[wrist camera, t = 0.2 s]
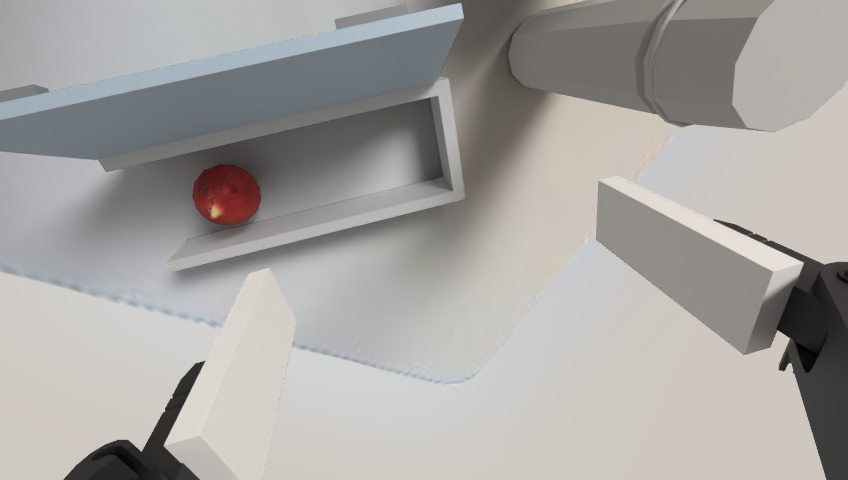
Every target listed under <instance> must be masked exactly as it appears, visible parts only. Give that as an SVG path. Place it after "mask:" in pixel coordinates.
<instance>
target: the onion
mask: <svg viewBox="0 0 848 480" xmlns="http://www.w3.org/2000/svg"><path fill="white" fill-rule="evenodd" d="M193 200H194V203H195V206H196V208H197V210H198V211H199V212H200V213H201V214H202V216H203V217H205V218H206V219H208V220H209V221H211V222H213V223H217V224H221V225H235V224H239V223H241V222H244V221H246V220H248V219H249V218H250V217H251V216H252V215H253V214H254V213H255V212H256V211H257V210H258V207H259V204H260V202H261V194H260V187H259V185H258V184H257V182H256V180H255V179H254V178H253V177H252V176H251V175H250V174H249V173H248V172H247V171H245V170H243V169H241V168H239V167H236V166H234V165H223V164H220V165H217V166H214V167H212V168H209V169H206V170H204V171H203V173H202V174H201V175H200V176H199V178H198V179H197V180H196V181H195V183H194V190H193Z"/></svg>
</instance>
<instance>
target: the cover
mask: <svg viewBox="0 0 848 480" xmlns="http://www.w3.org/2000/svg"><path fill="white" fill-rule="evenodd" d="M463 20H464V15H463V10H462V5H461V3H458V4H453V5H448V6H444V7H439V8H435V9H430V10H425V11H421V12H416V13H412V14H408V13H407V8H406V4H405V5H400V6H396V7H391V8H386V9H382V10H377V11H372V12H368V13H363V14H358V15H354V16H349V17H345V18H340V19H335V24H336V28H337V30H333V31H329V32H324V33H319V34H315V35H310V36H306V37H301V38H296V39H292V40H287V41H283V42H278V43H273V44H269V45H264V46H260V47H255V48H250V49H246V50H241V51H237V52H232V53H227V54H223V55H218V56H213V57H209V58H204V59H200V60H195V61H190V62H186V63H181V64H177V65H172V66H167V67H163V68H158V69H154V70H149V71H144V72H140V73H135V74H131V75H126V76H121V77H117V78H112V79H108V80H103V81H98V82H94V83H89V84H85V85H80V86H75V87H71V88H66V89H62V90H57V91H52V92H49V90H48V89H47V88H43V87H40V86H36V85H29V86H24V87H20V88H15V89H10V90H6V91H1V92H0V151H3V152H14V153H25V154H36V155H47V156H58V157H69V158H80V159H91V160H97V159H101V158H106V157H110V156H114V155H119V154H123V153H127V152H132V151H136V150H141V149H145V148H149V147H154V146H158V145H162V144H167V143H171V142H176V141H180V140H184V139H189V138H193V137H197V136H202V135H206V134H210V133H215V132H219V131H224V130H228V129H232V128H237V127H241V126H245V125H250V124H254V123H259V122H263V121H267V120H272V119H276V118H280V117H285V116H289V115H294V114H298V113H302V112H307V111H311V110H315V109H320V108H324V107H328V106H333V105H337V104H342V103H346V102H350V101H355V100H359V99H363V98H368V97H372V96H377V95H381V94H385V93H390V92H394V91H398V90H403V89H407V88H412V87H416V86H420V85H425V84H429V83H433V82H437V80H438V77H439V75H440V73H441V71H442V68H443V66H444V64H445V61H446V59H447V57H448V54H449V52H450V50H451V47H452V45H453V43H454V40H455V38H456V36H457V33H458V31H459V29H460V27H461V24H462V22H463Z"/></svg>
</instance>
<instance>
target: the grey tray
mask: <svg viewBox="0 0 848 480" xmlns="http://www.w3.org/2000/svg"><path fill="white" fill-rule="evenodd" d="M425 98H430V102H431V107H432V113H433V119H434V125H435V131H436V137H437V143H438V148H439V154H440V160H441V166H442V172H443V177H440V178H436V179H432V180H428V181H423V182H419V183H415V184H411V185H407V186H403V187H399V188H395V189H391V190H387V191H383V192H378V193H374V194H370V195H366V196H362V197H358V198H354V199H350V200H346V201H342V202H337V203H333V204H329V205H325V206H321V207H317V208H313V209H309V210H305V211H301V212H296V213H292V214H288V215H284V216H280V217H276V218H272V219H268V220H264V221H260V222H255V223H251V224H247V225H243V226H239V227H235V228H231V229H227V230H223V231H219V232H215V233H210V234H206V235H202V236H198V237H194V238H190V239H187V240H186V241H185V242H184V244H183V245H182V246H181V247H180V248H179V249H178V250H177V251H176V252H175V254H174V255H173V256H172V257H171V258H170V259H169V260H168V261H167V263H168V265H169V266H170V268H171V269H172V271H173V272H174V271H178V270H182V269H186V268H190V267H194V266H198V265H202V264H206V263H210V262H214V261H218V260H222V259H226V258H231V257H235V256H239V255H243V254H247V253H251V252H255V251H259V250H263V249H267V248H271V247H275V246H279V245H283V244H287V243H291V242H295V241H299V240H303V239H307V238H311V237H315V236H319V235H323V234H327V233H331V232H335V231H339V230H343V229H347V228H351V227H355V226H359V225H363V224H367V223H371V222H375V221H379V220H383V219H387V218H392V217H396V216H400V215H404V214H408V213H412V212H416V211H420V210H424V209H428V208H432V207H436V206H440V205H444V204H448V203H452V202H456V201H460V200H464V199H466V196H465V189H464V182H463V175H462V168H461V161H460V154H459V147H458V140H457V133H456V126H455V119H454V112H453V104H452V97H451V90H450V83H449V78H445V77H442V76H439V77H438V80H437V82H433V83H429V84H425V85H420V86H416V87H412V88H407V89H403V90H398V91H394V92H390V93H385V94H381V95H377V96H372V97H368V98H363V99H359V100H355V101H350V102H346V103H342V104H337V105H333V106H328V107H324V108H320V109H315V110H311V111H307V112H302V113H298V114H294V115H289V116H285V117H280V118H276V119H272V120H267V121H263V122H259V123H254V124H250V125H245V126H241V127H237V128H232V129H228V130H224V131H219V132H215V133H210V134H206V135H202V136H197V137H193V138H189V139H184V140H180V141H176V142H171V143H167V144H162V145H158V146H154V147H149V148H145V149H141V150H136V151H132V152H127V153H123V154H119V155H114V156H110V157H106V158H101V159H98V161H99V162H100V164H101V165H102V167H103V168H104V170H105V171H106V172H109V171H114V170H118V169H122V168H127V167H131V166H135V165H140V164H144V163H148V162H153V161H157V160H161V159H166V158H170V157H174V156H179V155H183V154H187V153H192V152H196V151H200V150H205V149H209V148H213V147H218V146H222V145H226V144H231V143H235V142H239V141H243V140H248V139H252V138H256V137H261V136H265V135H269V134H274V133H278V132H282V131H287V130H291V129H295V128H300V127H304V126H308V125H313V124H317V123H321V122H326V121H330V120H334V119H339V118H343V117H347V116H352V115H356V114H360V113H365V112H369V111H373V110H378V109H382V108H386V107H391V106H395V105H399V104H404V103H408V102H412V101H417V100H421V99H425Z"/></svg>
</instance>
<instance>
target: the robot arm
mask: <svg viewBox="0 0 848 480" xmlns="http://www.w3.org/2000/svg"><path fill="white" fill-rule="evenodd" d="M596 240H597V241H598V242H599V243H601V244H602V245H603V246H605V247H606V248H607V249H609V250H610V251H611V252H612V253H614V254H615V255H616V256H617V257H619V258H620V259H621V260H623V261H624V262H625V263H626V264H628V265H629V266H630V267H632V268H633V269H634V270H635V271H637V272H638V273H639V274H641V275H642V276H643V277H645V278H646V279H647V280H648V281H650V282H651V283H652V284H653V285H655V286H656V287H657V288H659V289H660V290H661V291H662V292H664V293H665V294H666V295H668V296H669V297H670V298H672V299H673V300H674V301H675V302H676V303H678V304H679V305H680V306H682V307H683V308H684V309H685V310H687V311H688V312H689V313H691V314H692V315H693V316H694V317H696V318H697V319H698V320H700V321H701V322H702V323H703V324H705V325H706V326H707V327H709V328H710V329H711V330H713V331H714V332H715V333H717V334H718V335H719V336H720V337H721V338H723V339H724V340H725V341H727V342H728V343H729V344H730V345H732V346H733V347H734V348H736V349H737V350H738V351H740V352H741V353H742V354H743V355H745V354H749V353H753V352H756V351H759V350H763V349H766V348H769V347H771V344H772V342H773V340H774V337H775V334H776V332H777V330H778V331H780V332H782V333H783V334H785V335H786V336H788V337H789V338H790V340H789V343H788V345H787V347H786V350H785V352H784V354H783V357H782V359H781V361H780V364H779V370H782V371H785V369H786V367H787V365H788V364H789V363H791V364H792V367H793V370H794V371H793V373H795V377H796V380H797V383H798V387H799V390H800V393H801V397H802V400H803V403H804V406H805V410H806V413H807V417H808V420H809V423H810V427H811V430H812V433H813V436H814V440H815V443H816V446H817V450H818V453H819V456H820V460H821V463H822V466H823V470H824V473H825V476H826V480H848V262H834V263H829V264H826V265H824V264H822V263H820V262H817V261H815V260H813V259H811V258H809V257H806V256H804V255H802V254H800V253H797V252H795V251H793V250H791V249H789V248H786V247H784V246H782V245H780V244H777V243H775V242H773V241H768V240H767V239H766V238H764V237H762V236H760V235H757V234H753V233H752V232H751V231H748V230H746V229H744V228H742V227H740V226H737V225H735V224H731V223H727V222H723V221H719V220H715V219H714V220H711V219H709V218H707V217H705V216H702V215H701V214H698V213H696V212H694V211H692V210H690V209H688V208H685V207H683V206H681V205H679V204H677V203H675V202H673V201H670V200H668V199H666V198H664V197H662V196H660V195H658V194H655V193H653V192H651V191H649V190H647V189H645V188H643V187H641V186H638V185H636V184H634V183H632V182H630V181H628V180H626V179H623V178H621V177H619V176H613V177H609V178H605V179H602V180H599V181H598V205H597V229H596ZM296 325H297V321H296V319H295V317H294V315H293V313H292V311H291V309H290V307H289V305H288V303H287V301H286V299H285V297H284V295H283V294H282V292H281V290H280V288H279V286H278V284H277V282H276V280H275V278H274V276H273V274H272V272H271V270H270V268H267V269H263V270H259V271H256V272H252V273H249V274H248V276H247V278H246V280H245V282H244V284H243V286H242V288H241V290H240V292H239V295H238V297H237V299H236V301H235V303H234V305H233V307H232V309H231V311H230V313H229V315H228V317H227V319H226V321H225V323H224V325H223V327H222V329H221V331H220V333H219V335H218V337H217V339H216V341H215V343H214V345H213V347H212V349H211V351H210V353H209V355H208V357H207V359H206V361H203V362H200V363H196V364H195V365H194V366H193V367H192V368H191V369H190V370H189V371H188V372H187V373H186V375H185V376H184V377H183V378H182V379H181V381H180V382H179V384H178V386H177V388H176V390H175V392H174V394H173V398H172V399H170V401H169V403H168V404H167V406H166V408H165V412H163V414H162V415H161V417H160V419H159V421H158V423H157V425H156V427H155V428H154V430H153V432H152V434H151V436H150V438H149V439H148V441H147V443H146V445H145V447H144V449H143V451H142V452H141V451H140V450H139V449H138V448H136V447H135V446H134V445H133V444H132V443H131V442H130V441H129V440H117V441H114V442H111V443H109V444H106V445H104V446H102V447H100V448H99V449H97V450H96V451H94V452H92V453H91V454H89V455H88V456H87V457H86V458H85V459H83V460H82V461H81V462H80V463H79V464H77V465H76V466H75V467H74V469H73V470H72V471H71V472H70V473H69V474H68V475H67V476H66V477H65V479H64V480H262V475H263V471H264V466H265V461H266V457H267V453H268V448H269V444H270V439H271V435H272V431H273V426H274V421H275V417H276V413H277V409H278V404H279V400H280V395H281V391H282V386H283V382H284V378H285V373H286V369H287V364H288V360H289V356H290V351H291V347H292V342H293V338H294V334H295V329H296Z"/></svg>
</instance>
